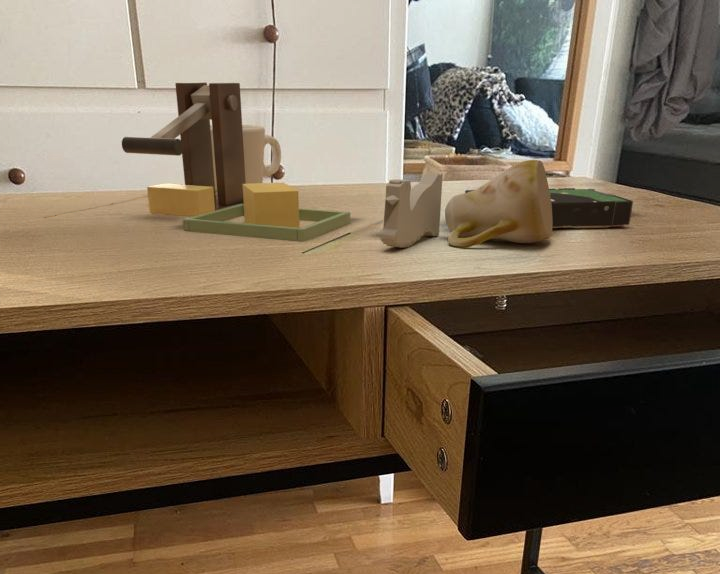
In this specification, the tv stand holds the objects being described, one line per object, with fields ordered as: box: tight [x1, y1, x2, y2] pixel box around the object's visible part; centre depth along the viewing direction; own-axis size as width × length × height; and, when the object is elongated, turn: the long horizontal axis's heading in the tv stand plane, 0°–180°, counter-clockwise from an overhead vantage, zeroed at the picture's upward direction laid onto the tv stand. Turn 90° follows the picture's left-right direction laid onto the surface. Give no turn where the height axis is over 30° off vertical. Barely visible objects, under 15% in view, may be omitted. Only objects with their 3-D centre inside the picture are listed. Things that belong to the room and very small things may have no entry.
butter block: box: [146, 183, 215, 217], centre depth 78 cm, size 6×3×4 cm, turn 67°
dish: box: [182, 204, 351, 254], centre depth 72 cm, size 12×10×2 cm
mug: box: [444, 159, 554, 248], centre depth 70 cm, size 8×10×10 cm
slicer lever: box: [121, 84, 212, 157], centre depth 76 cm, size 13×6×2 cm, turn 157°
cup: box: [210, 124, 282, 192], centre depth 95 cm, size 11×8×8 cm
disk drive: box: [464, 187, 634, 229], centre depth 80 cm, size 10×3×15 cm
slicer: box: [174, 81, 246, 211], centre depth 81 cm, size 10×8×13 cm
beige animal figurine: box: [379, 172, 443, 249], centre depth 69 cm, size 6×1×10 cm
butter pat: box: [243, 182, 300, 228], centre depth 71 cm, size 6×4×4 cm, turn 17°
